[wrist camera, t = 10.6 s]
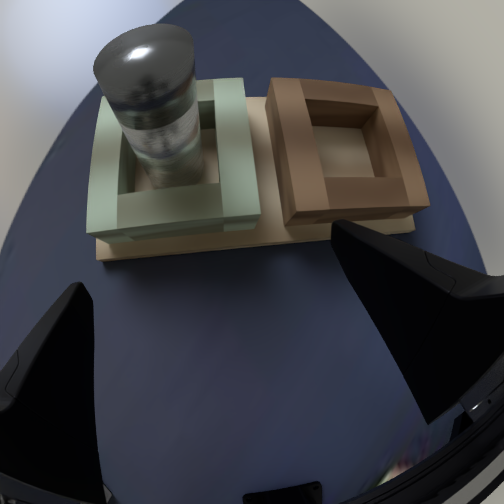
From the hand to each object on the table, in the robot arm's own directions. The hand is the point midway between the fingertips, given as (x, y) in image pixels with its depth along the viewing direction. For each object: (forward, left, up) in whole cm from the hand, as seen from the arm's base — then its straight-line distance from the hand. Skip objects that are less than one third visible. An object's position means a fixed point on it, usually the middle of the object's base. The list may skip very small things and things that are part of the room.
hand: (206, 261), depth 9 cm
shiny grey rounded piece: (+8, +2, -9) cm, 12 cm away
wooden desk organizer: (+8, -4, -10) cm, 13 cm away
